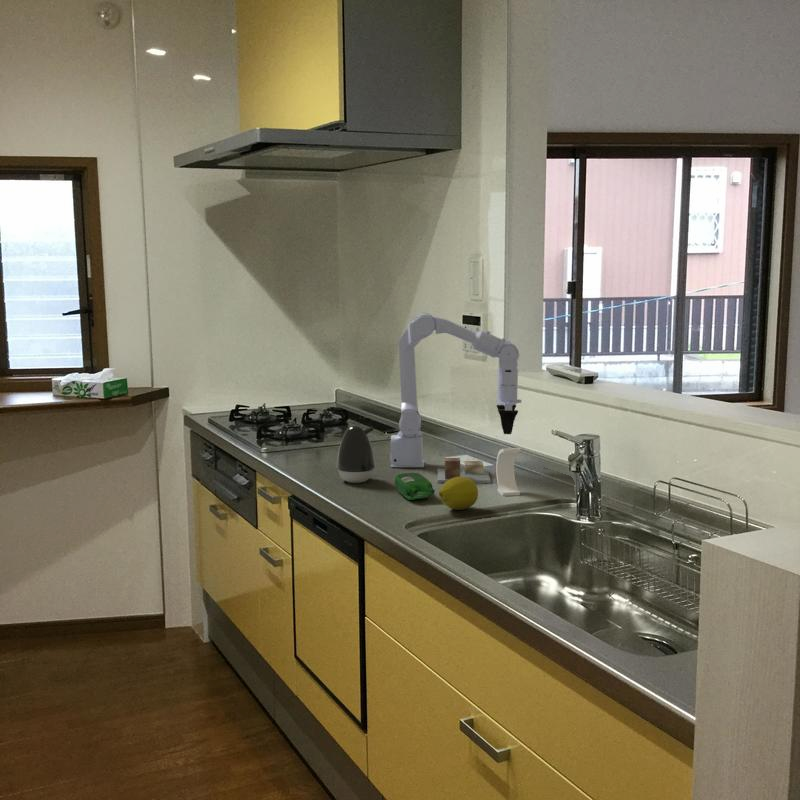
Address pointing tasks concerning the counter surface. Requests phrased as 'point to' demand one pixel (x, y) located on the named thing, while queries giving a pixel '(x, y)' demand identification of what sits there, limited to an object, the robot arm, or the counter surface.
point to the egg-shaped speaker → (355, 455)
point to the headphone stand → (506, 472)
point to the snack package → (413, 486)
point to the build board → (474, 477)
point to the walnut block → (452, 468)
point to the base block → (473, 467)
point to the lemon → (459, 493)
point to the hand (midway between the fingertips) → (506, 431)
